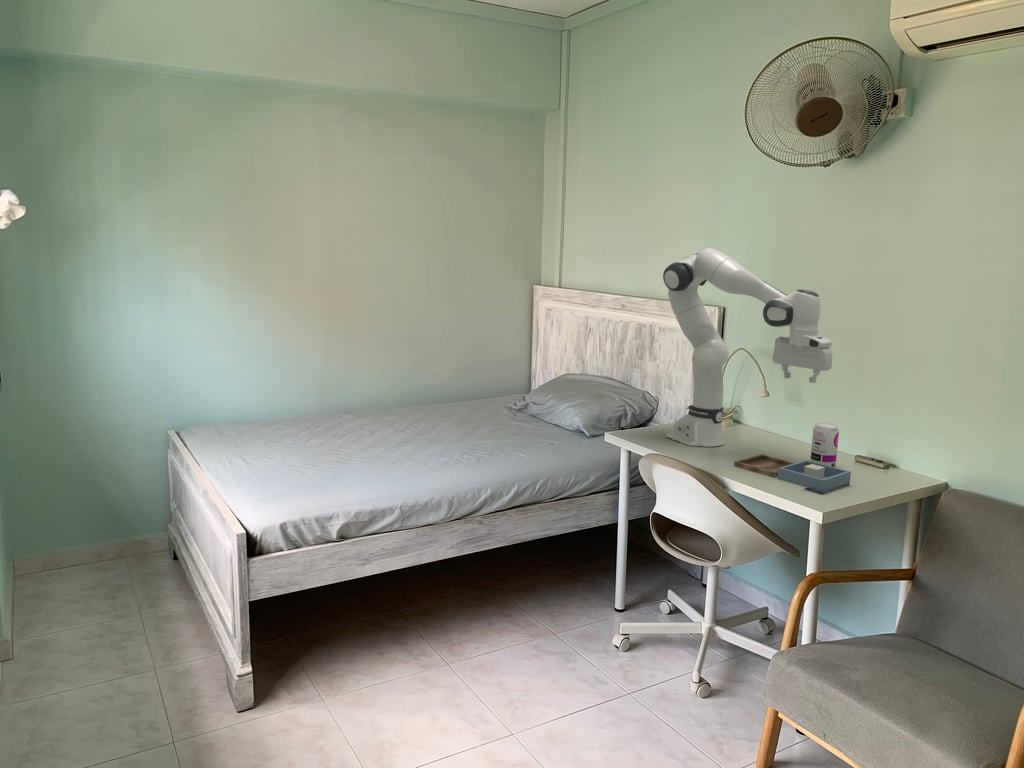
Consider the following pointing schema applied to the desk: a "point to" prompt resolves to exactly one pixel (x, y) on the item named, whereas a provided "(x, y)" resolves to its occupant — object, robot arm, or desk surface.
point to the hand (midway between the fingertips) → (799, 380)
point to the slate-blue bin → (831, 481)
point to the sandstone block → (814, 471)
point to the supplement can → (825, 444)
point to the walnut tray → (762, 464)
